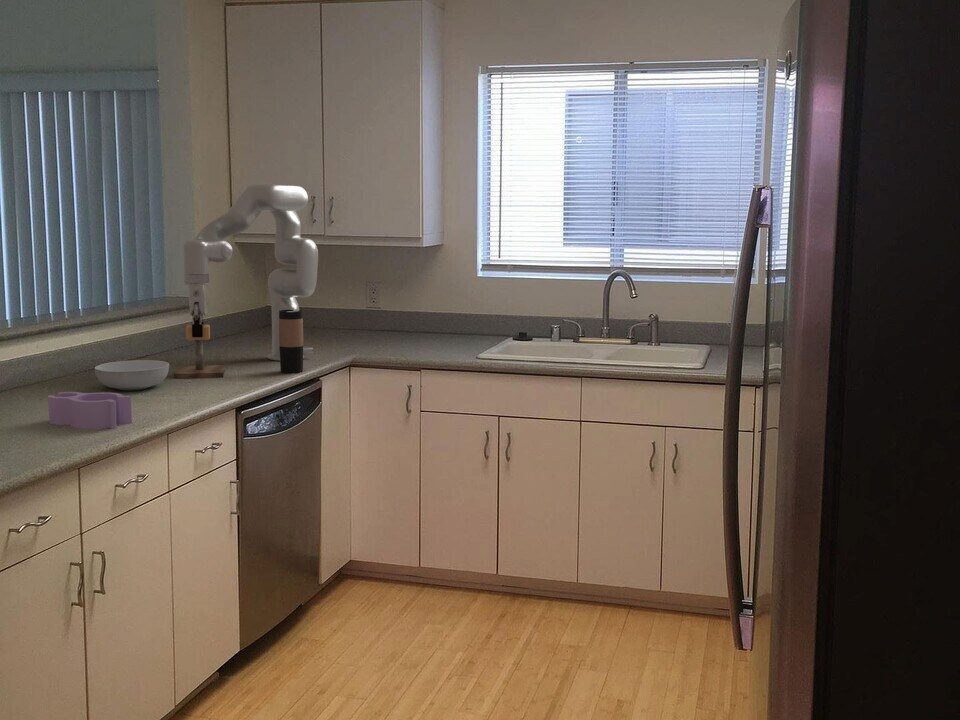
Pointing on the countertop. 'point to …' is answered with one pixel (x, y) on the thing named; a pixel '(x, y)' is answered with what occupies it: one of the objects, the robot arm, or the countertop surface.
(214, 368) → the post stand
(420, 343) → the countertop surface
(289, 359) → the travel mug
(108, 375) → the serving bowl
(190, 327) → the collar
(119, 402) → the clip
